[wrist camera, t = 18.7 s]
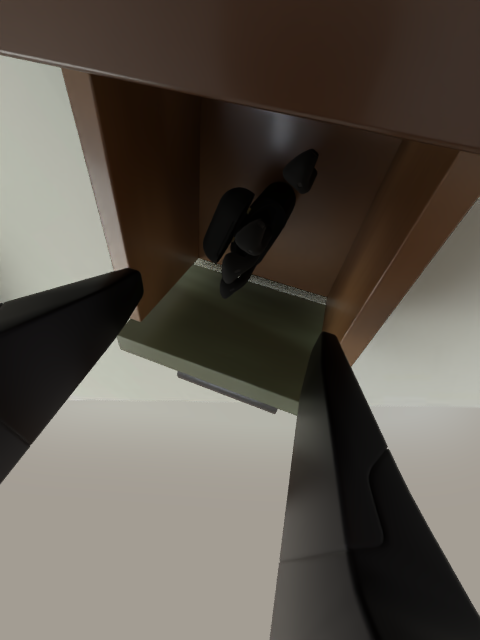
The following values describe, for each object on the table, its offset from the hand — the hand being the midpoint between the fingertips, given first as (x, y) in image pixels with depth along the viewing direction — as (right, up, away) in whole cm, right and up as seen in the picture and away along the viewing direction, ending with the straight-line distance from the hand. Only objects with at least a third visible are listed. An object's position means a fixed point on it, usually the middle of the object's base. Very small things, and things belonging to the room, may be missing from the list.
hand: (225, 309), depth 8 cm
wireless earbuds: (+2, +5, +4) cm, 7 cm away
